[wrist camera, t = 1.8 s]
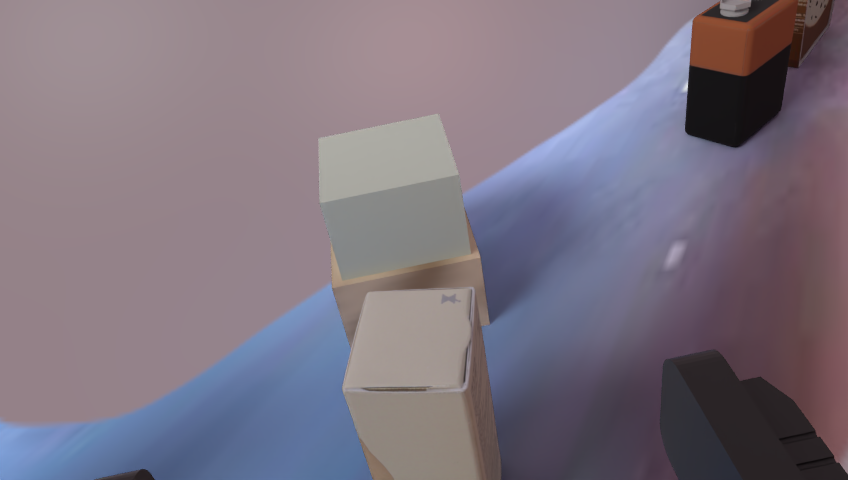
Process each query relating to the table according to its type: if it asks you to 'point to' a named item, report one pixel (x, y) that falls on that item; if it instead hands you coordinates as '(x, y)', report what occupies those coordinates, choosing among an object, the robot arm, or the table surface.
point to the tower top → (391, 197)
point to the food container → (809, 28)
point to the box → (422, 387)
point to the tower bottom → (410, 283)
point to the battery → (738, 68)
